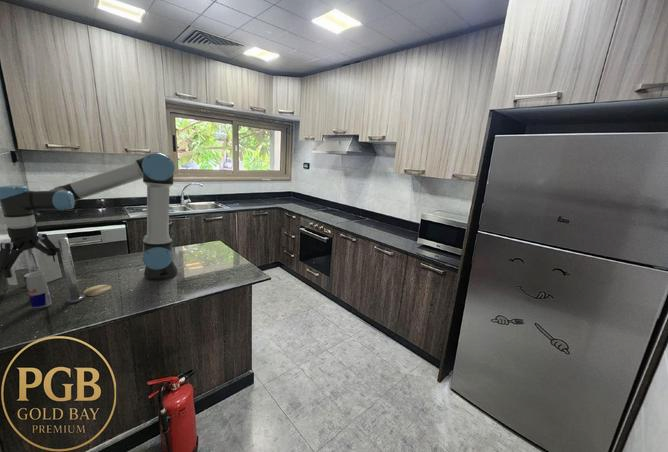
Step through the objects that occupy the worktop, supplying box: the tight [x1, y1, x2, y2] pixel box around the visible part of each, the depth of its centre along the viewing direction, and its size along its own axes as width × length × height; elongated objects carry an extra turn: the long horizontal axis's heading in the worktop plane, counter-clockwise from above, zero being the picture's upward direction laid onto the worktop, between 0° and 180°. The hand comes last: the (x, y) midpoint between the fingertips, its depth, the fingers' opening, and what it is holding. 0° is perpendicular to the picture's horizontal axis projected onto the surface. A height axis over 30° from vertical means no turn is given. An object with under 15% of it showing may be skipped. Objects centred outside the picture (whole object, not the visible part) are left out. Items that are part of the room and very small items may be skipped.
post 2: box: [57, 236, 86, 305], centre depth 114 cm, size 6×6×28 cm
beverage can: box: [23, 271, 53, 310], centre depth 110 cm, size 6×6×15 cm
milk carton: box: [34, 243, 63, 283], centre depth 132 cm, size 7×7×19 cm
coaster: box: [82, 284, 112, 297], centre depth 126 cm, size 10×10×1 cm
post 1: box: [23, 248, 52, 297], centre depth 115 cm, size 6×6×28 cm
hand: (33, 276), depth 108 cm, fingers open, 13 cm apart
